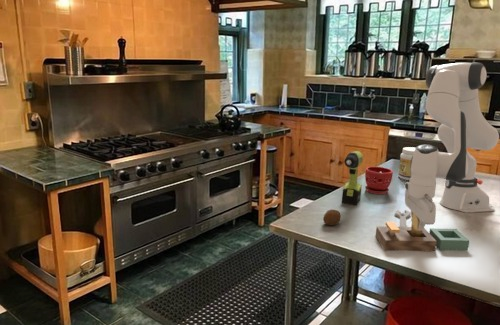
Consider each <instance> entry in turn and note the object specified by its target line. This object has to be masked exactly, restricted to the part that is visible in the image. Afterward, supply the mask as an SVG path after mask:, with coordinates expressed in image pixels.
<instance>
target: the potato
mask: <svg viewBox="0 0 500 325" xmlns="http://www.w3.org/2000/svg"><path fill="white" fill-rule="evenodd" d="M322 219H323V223H324V224H325V225H327V226H333V225H334V226H335V225H337V224H338V223H340V221H341V219H342V214H341V212H340V210H337V209H332V208H331V209H329V210H327V211H326V212H325V213H324V215H323V218H322Z"/></svg>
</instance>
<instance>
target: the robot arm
mask: <svg viewBox="0 0 500 325" xmlns="http://www.w3.org/2000/svg"><path fill="white" fill-rule="evenodd" d="M425 73H426V75H425V86H426V87H427V88H428V92H427V97H426V102H425V110H426V113H427V114H428V116H429V117H430V118H431V119H433V121H435V122H438V123H439V124H440V125H439V127H438V130H437V137H438V139H439V141H441V143H442V144H443V145H444V147H445V149H446V151H447V152H443V151H439V149H438V147H436V146H435V145H432V144H420V145H417V146H416V147H415V151H414V155H413V156H412V159H411V166H410V169H411V178H410V180H408V181H409V182H407V181H406V182H405V183H404V188H405V192H404V203H405V206H406V207H407V208H408V209H409V210H410V213H411V216H410V217H411V218H410V222H412V217H413V213H414V214H415V215H416V216H417V217H418V218H419V221H420V223H419V224H418V229H419V230H424V228H425V226H426V225H429V226H430V225H434V224H435V223H436V213H437V206H436V204H435V202H434V200H433V198H434V197H435V196H436V187H437V180H436V179H443V180H445V185H444V186H445V187H444V191H443V194H442V197H441V199H440V201H439V204H440V205H441V206H443V207H445V208H448V209H450V210H456V211H459V212H462V213H479V212H481V213H482V212H494V211H495V207H494V205H492V204H491V203H490V196H489V195H488V194H487V192H485V191H484V190H483V189H482V188H481V187H480V186H478V185H483V183H484V181H483V180H481V179H480V178H479V179H478V178H477V177H476V169H477V166H478V164H477V160H476V159H475V157H474V156H473V155H471V154H470V152H469V151H468V149H473V150H479V151H482V150H483V151H490V150H492V149H494V148H495V147H497V144H498V143H499V140H500V134H499V132H498V130H497V128H496V127H494V126H492V124H490V123H489V122H488V121H487V119H486V118H485V117H484V114H483V112H482V111H481V107H480V98H479V96H480V95H479V89H481V88H482V87H483V86H484V85H485V82H486V80H487V76H488V75H487V73H488V72H487V70H486V66H485V65H484V64H483V63H482V62H476V61H475V62H474V61H473V62H455V63H445V64H436V65H433V66H431V67H429V69H427V71H426V72H425Z"/></svg>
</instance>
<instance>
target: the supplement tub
mask: <svg viewBox="0 0 500 325" xmlns="http://www.w3.org/2000/svg"><path fill="white" fill-rule="evenodd" d="M415 148H416V147H413V146H412V147H411V146H410V147H409V146H408V147H407V146H406V147H403V148H402V152H401V153H400V157H399V166H398V174H397V175H398V177H399V178H400V179H402V180H406V181H410V178H411V169H410V166H411V159H412V156H413V155H414V151H415Z"/></svg>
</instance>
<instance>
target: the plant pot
mask: <svg viewBox="0 0 500 325" xmlns="http://www.w3.org/2000/svg"><path fill="white" fill-rule="evenodd" d="M393 174H394V171H393V169H390V168H387V167H383V166H368V167H366V168H365V177H364V178H365V184H366V186H365V187H364V188H365V190H366V191H367V192H368V193H370V194H372V195H385V194H387V193H389V191H390V190H389V187H390V185H391V182H392V180H393Z"/></svg>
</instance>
